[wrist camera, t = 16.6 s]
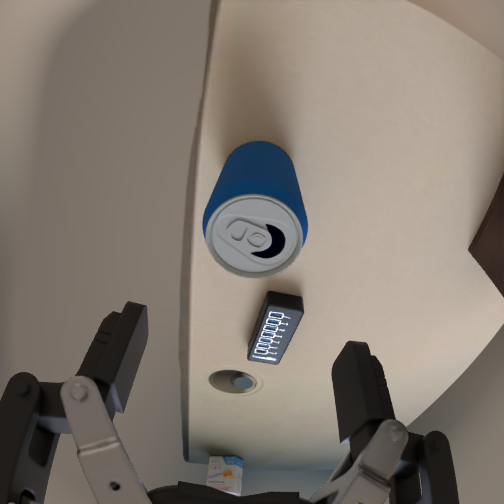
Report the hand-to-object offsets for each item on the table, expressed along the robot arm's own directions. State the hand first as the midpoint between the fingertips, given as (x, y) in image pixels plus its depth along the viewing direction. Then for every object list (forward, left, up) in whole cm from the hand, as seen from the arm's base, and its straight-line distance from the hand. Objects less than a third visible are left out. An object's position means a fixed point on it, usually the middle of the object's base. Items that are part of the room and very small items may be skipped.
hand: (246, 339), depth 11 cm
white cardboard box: (+79, +8, -20) cm, 82 cm away
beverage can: (0, 0, -20) cm, 20 cm away
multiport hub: (+19, +6, -20) cm, 28 cm away
